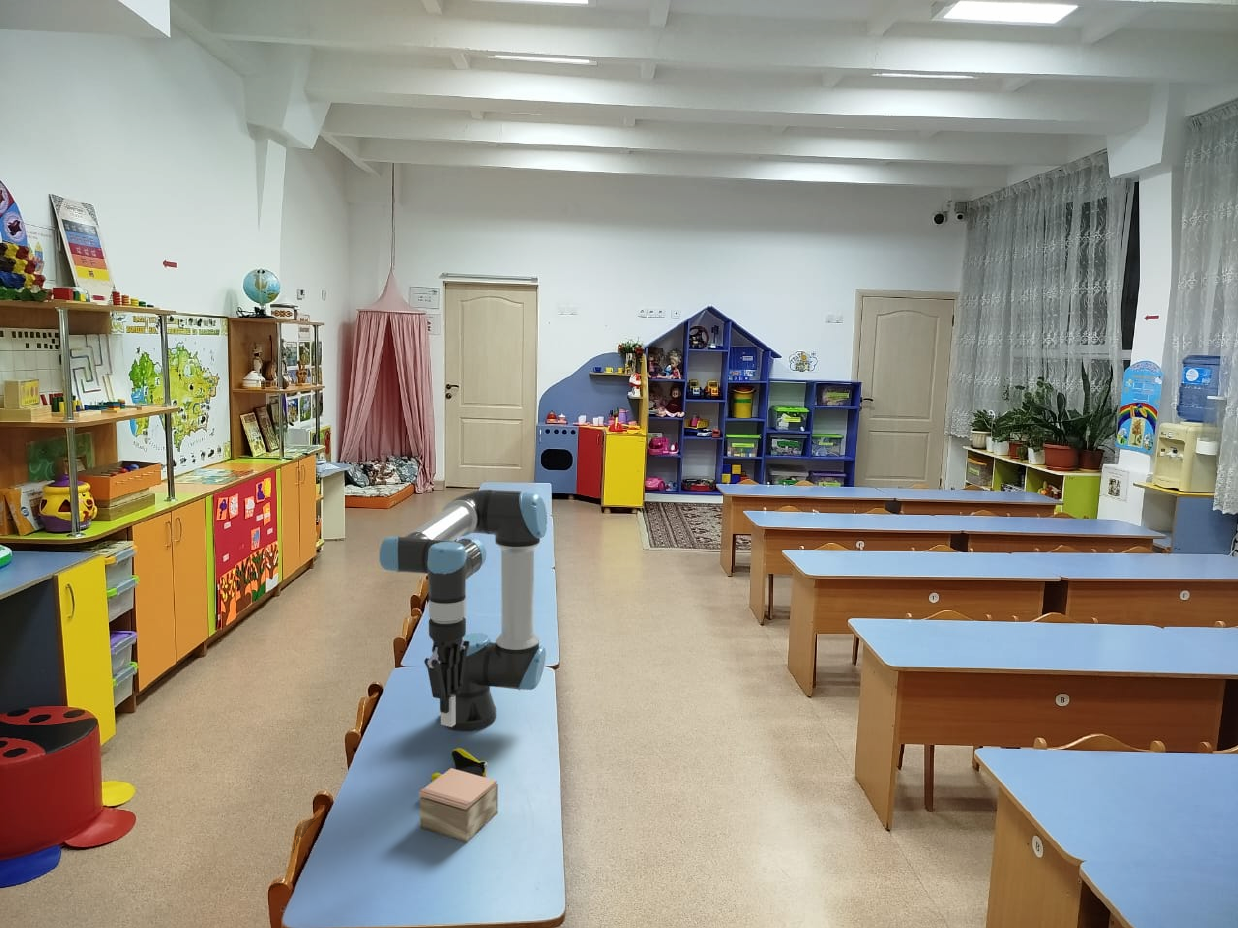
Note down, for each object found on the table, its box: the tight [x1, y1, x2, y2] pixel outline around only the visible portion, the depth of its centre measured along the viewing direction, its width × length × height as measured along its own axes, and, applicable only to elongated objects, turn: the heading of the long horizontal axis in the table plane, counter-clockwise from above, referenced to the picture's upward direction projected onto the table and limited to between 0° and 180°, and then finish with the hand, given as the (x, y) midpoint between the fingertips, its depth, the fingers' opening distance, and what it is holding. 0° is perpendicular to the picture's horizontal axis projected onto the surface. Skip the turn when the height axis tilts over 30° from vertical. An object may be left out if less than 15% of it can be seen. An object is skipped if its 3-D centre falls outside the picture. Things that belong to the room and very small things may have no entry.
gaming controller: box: [430, 747, 489, 783], centre depth 197 cm, size 15×6×10 cm
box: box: [419, 783, 499, 843], centre depth 182 cm, size 12×12×7 cm
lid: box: [418, 767, 497, 810], centre depth 181 cm, size 12×12×1 cm
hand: (448, 724), depth 175 cm, fingers closed
